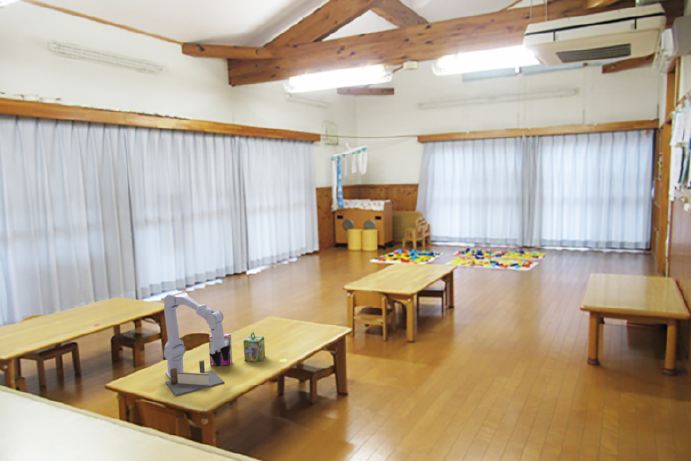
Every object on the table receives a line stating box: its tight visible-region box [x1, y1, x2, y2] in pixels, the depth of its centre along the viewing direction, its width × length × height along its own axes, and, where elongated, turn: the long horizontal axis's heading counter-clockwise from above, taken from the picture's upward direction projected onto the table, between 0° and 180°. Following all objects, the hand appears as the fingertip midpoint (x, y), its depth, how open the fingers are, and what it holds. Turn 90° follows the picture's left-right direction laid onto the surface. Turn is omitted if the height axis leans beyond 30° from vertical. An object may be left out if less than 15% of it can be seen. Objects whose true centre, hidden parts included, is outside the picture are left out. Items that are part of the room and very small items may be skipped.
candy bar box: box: [208, 333, 233, 367], centre depth 258 cm, size 11×5×16 cm, turn 92°
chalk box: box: [243, 331, 266, 362], centre depth 265 cm, size 9×9×15 cm
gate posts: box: [170, 359, 206, 385], centre depth 238 cm, size 3×17×8 cm, turn 133°
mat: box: [165, 369, 225, 397], centre depth 235 cm, size 18×24×1 cm
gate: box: [177, 371, 209, 385], centre depth 231 cm, size 16×1×5 cm, turn 79°
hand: (222, 363), depth 233 cm, fingers open, 7 cm apart
